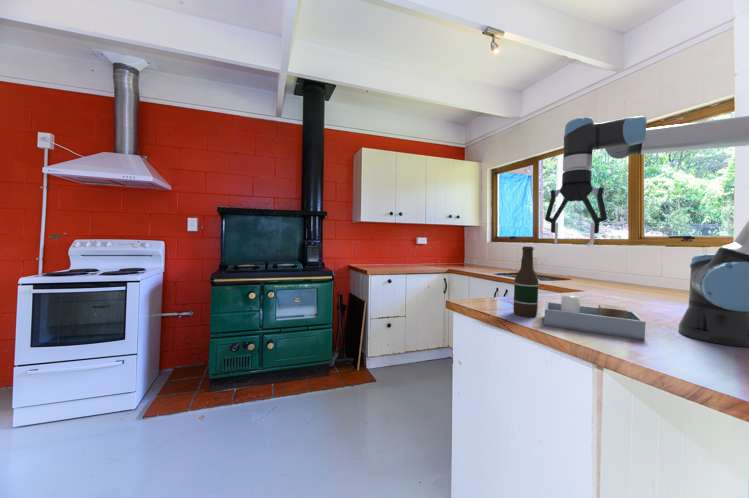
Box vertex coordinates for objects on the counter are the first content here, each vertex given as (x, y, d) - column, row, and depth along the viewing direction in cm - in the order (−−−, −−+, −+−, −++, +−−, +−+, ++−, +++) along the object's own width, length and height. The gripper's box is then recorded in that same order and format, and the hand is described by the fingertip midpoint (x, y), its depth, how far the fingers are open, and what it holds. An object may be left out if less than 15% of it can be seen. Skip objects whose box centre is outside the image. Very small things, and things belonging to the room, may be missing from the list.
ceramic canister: (578, 321, 97) (580, 296, 97) (579, 324, 93) (581, 298, 92) (560, 318, 99) (561, 294, 99) (560, 321, 95) (561, 296, 95)
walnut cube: (622, 326, 92) (623, 306, 91) (626, 331, 87) (627, 310, 86) (597, 323, 95) (598, 304, 94) (600, 327, 90) (601, 307, 89)
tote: (633, 327, 93) (634, 311, 93) (644, 340, 82) (645, 321, 81) (545, 316, 105) (546, 301, 105) (544, 325, 94) (544, 309, 94)
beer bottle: (540, 318, 102) (543, 247, 102) (516, 316, 104) (518, 246, 103) (533, 312, 110) (536, 246, 109) (510, 311, 112) (513, 246, 111)
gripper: (618, 170, 92) (614, 244, 93) (538, 176, 103) (535, 242, 104) (623, 164, 86) (618, 245, 86) (537, 171, 97) (533, 242, 97)
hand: (573, 243), depth 95 cm, fingers open, 9 cm apart
